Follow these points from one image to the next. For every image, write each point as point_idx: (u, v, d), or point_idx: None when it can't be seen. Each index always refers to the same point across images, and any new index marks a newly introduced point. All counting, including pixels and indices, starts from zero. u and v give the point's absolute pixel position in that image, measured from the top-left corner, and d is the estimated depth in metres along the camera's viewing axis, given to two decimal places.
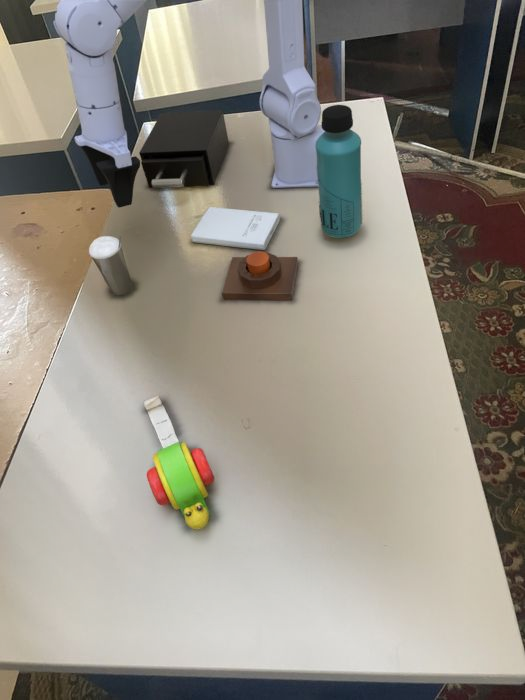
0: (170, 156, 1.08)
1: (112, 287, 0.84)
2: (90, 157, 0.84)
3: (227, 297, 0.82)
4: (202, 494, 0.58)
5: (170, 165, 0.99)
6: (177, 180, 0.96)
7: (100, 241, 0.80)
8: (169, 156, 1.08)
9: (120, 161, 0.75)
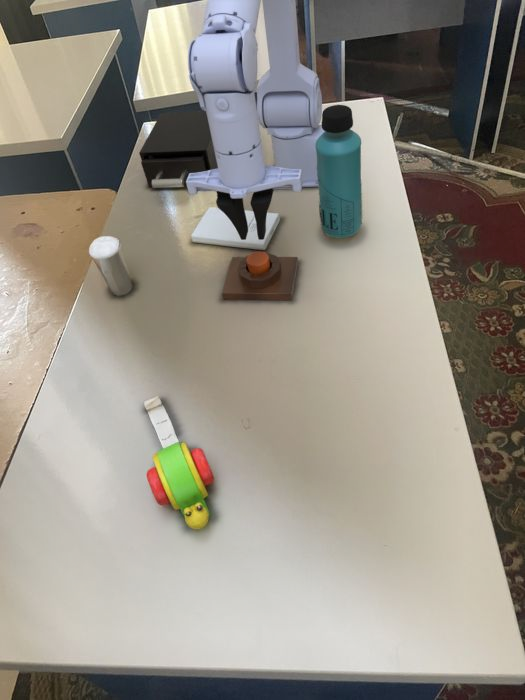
0: (170, 156, 1.08)
1: (112, 287, 0.84)
2: (238, 214, 0.73)
3: (227, 297, 0.82)
4: (202, 494, 0.58)
5: (170, 165, 0.99)
6: (177, 180, 0.96)
7: (100, 241, 0.80)
8: (169, 156, 1.08)
9: (300, 183, 0.70)
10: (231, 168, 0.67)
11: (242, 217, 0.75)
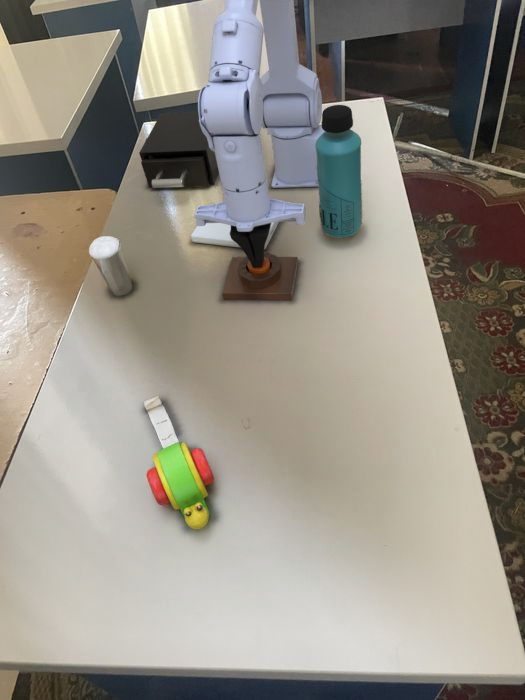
0: (170, 156, 1.08)
1: (112, 287, 0.84)
2: (250, 244, 0.77)
3: (227, 297, 0.82)
4: (202, 494, 0.58)
5: (170, 165, 0.99)
6: (177, 180, 0.96)
7: (100, 241, 0.80)
8: (169, 156, 1.08)
9: (304, 216, 0.73)
10: (238, 204, 0.71)
11: None
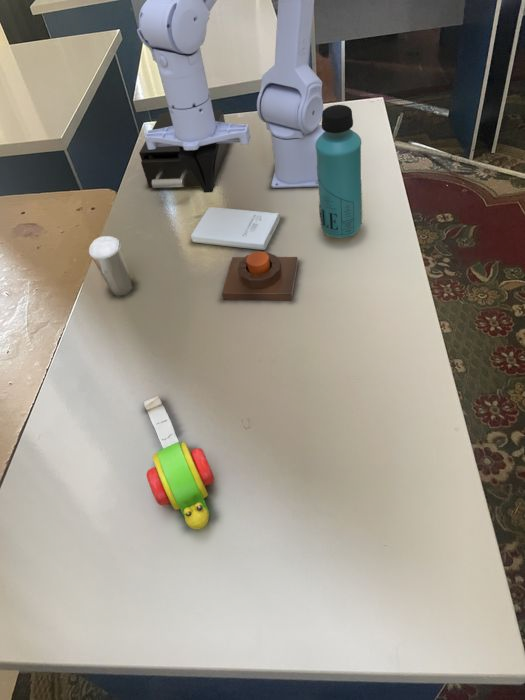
0: (170, 156, 1.08)
1: (112, 287, 0.84)
2: (199, 167, 0.80)
3: (227, 297, 0.82)
4: (202, 494, 0.58)
5: (170, 165, 0.99)
6: (177, 180, 0.96)
7: (100, 241, 0.80)
8: (169, 156, 1.08)
9: (247, 136, 0.77)
10: (183, 122, 0.74)
11: None
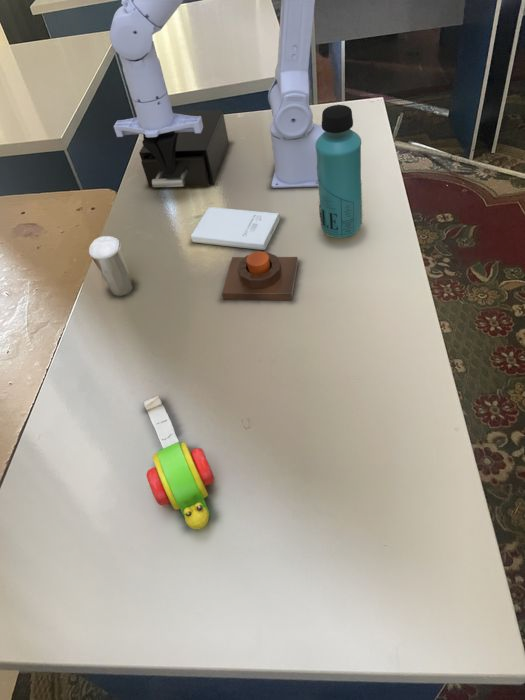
0: None
1: (112, 287, 0.84)
2: (160, 152, 0.94)
3: (227, 297, 0.82)
4: (202, 494, 0.58)
5: None
6: (177, 180, 0.96)
7: (100, 241, 0.80)
8: None
9: (200, 126, 0.91)
10: (144, 113, 0.88)
11: None
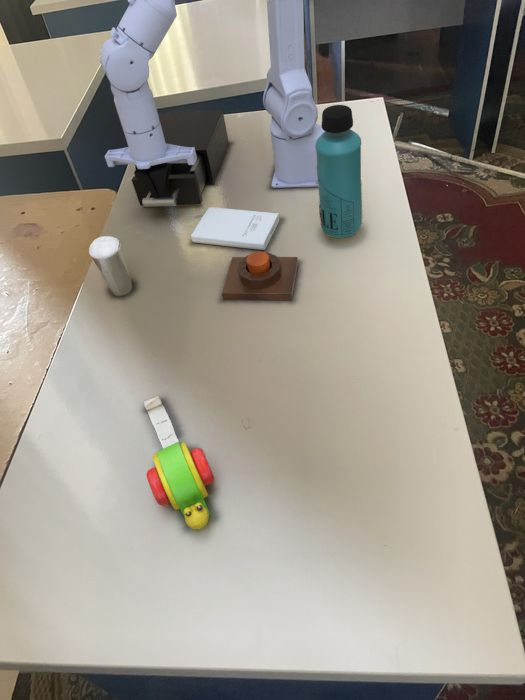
0: None
1: (112, 287, 0.84)
2: (152, 183, 0.92)
3: (227, 297, 0.82)
4: (202, 494, 0.58)
5: None
6: (169, 199, 0.93)
7: (100, 241, 0.80)
8: None
9: (193, 158, 0.88)
10: (136, 145, 0.86)
11: None
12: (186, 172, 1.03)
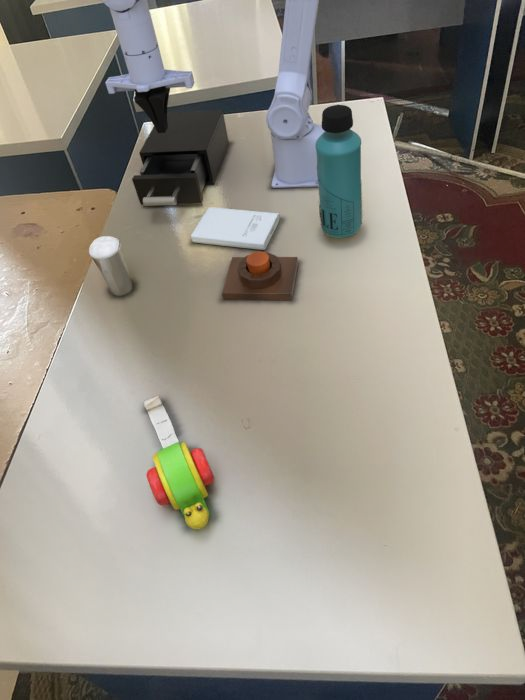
0: (163, 171, 1.04)
1: (112, 287, 0.84)
2: (152, 108, 0.95)
3: (227, 297, 0.82)
4: (202, 494, 0.58)
5: (162, 183, 0.96)
6: (169, 198, 0.93)
7: (100, 241, 0.80)
8: (162, 171, 1.05)
9: (191, 81, 0.91)
10: (135, 67, 0.89)
11: None
12: (186, 171, 1.03)
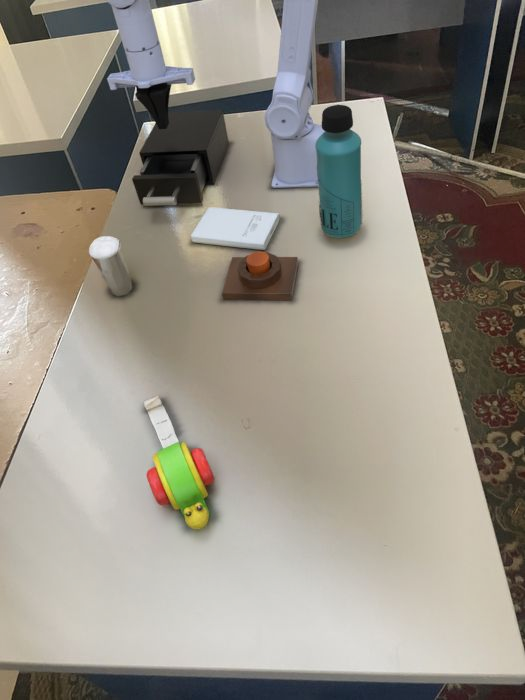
0: (163, 171, 1.04)
1: (112, 287, 0.84)
2: (153, 105, 0.96)
3: (227, 297, 0.82)
4: (202, 494, 0.58)
5: (162, 183, 0.96)
6: (169, 198, 0.93)
7: (100, 241, 0.80)
8: (162, 171, 1.05)
9: (192, 77, 0.92)
10: (137, 63, 0.90)
11: None
12: (186, 171, 1.03)
